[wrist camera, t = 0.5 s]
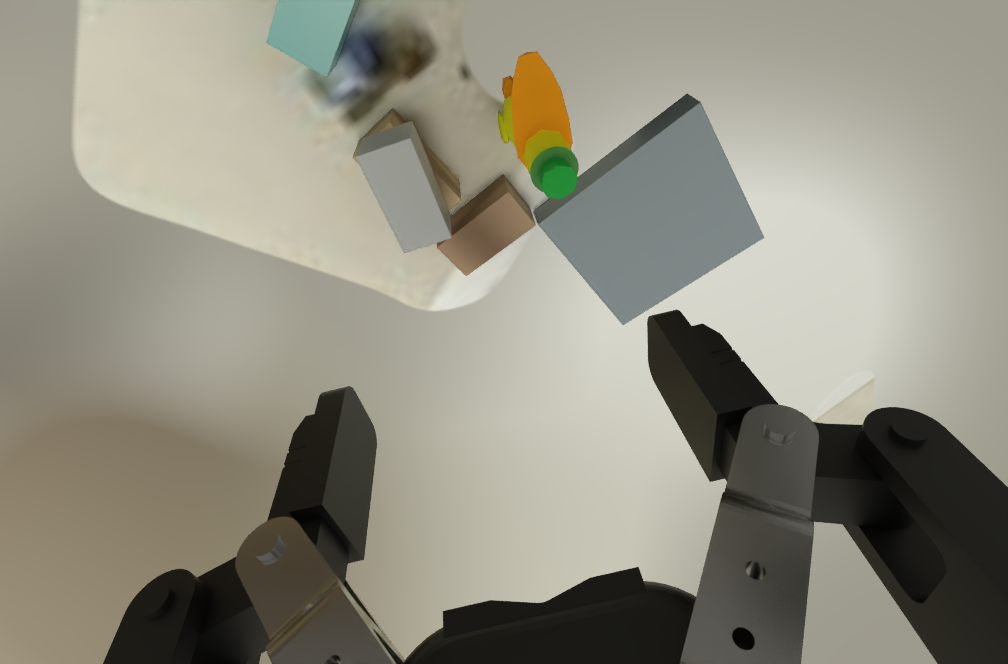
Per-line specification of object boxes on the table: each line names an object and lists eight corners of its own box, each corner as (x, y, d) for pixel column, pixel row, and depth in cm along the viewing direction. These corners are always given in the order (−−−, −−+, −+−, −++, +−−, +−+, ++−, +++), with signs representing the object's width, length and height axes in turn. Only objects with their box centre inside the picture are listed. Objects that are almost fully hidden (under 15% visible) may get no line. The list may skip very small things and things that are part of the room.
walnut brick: (503, 173, 32) (508, 191, 30) (529, 205, 34) (535, 225, 32) (436, 226, 34) (436, 247, 32) (464, 254, 36) (466, 276, 34)
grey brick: (362, 138, 27) (355, 157, 25) (412, 120, 27) (409, 138, 24) (406, 229, 31) (404, 253, 28) (450, 215, 30) (451, 237, 28)
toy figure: (475, 33, 27) (495, 86, 18) (537, 15, 26) (591, 59, 17) (503, 151, 31) (531, 243, 22) (556, 136, 31) (608, 222, 22)
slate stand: (687, 93, 30) (700, 102, 28) (750, 224, 37) (764, 237, 35) (533, 211, 34) (538, 224, 32) (615, 310, 41) (622, 325, 39)
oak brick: (359, 140, 30) (352, 157, 28) (393, 107, 29) (389, 122, 27) (426, 208, 33) (426, 228, 31) (459, 181, 32) (460, 200, 30)
